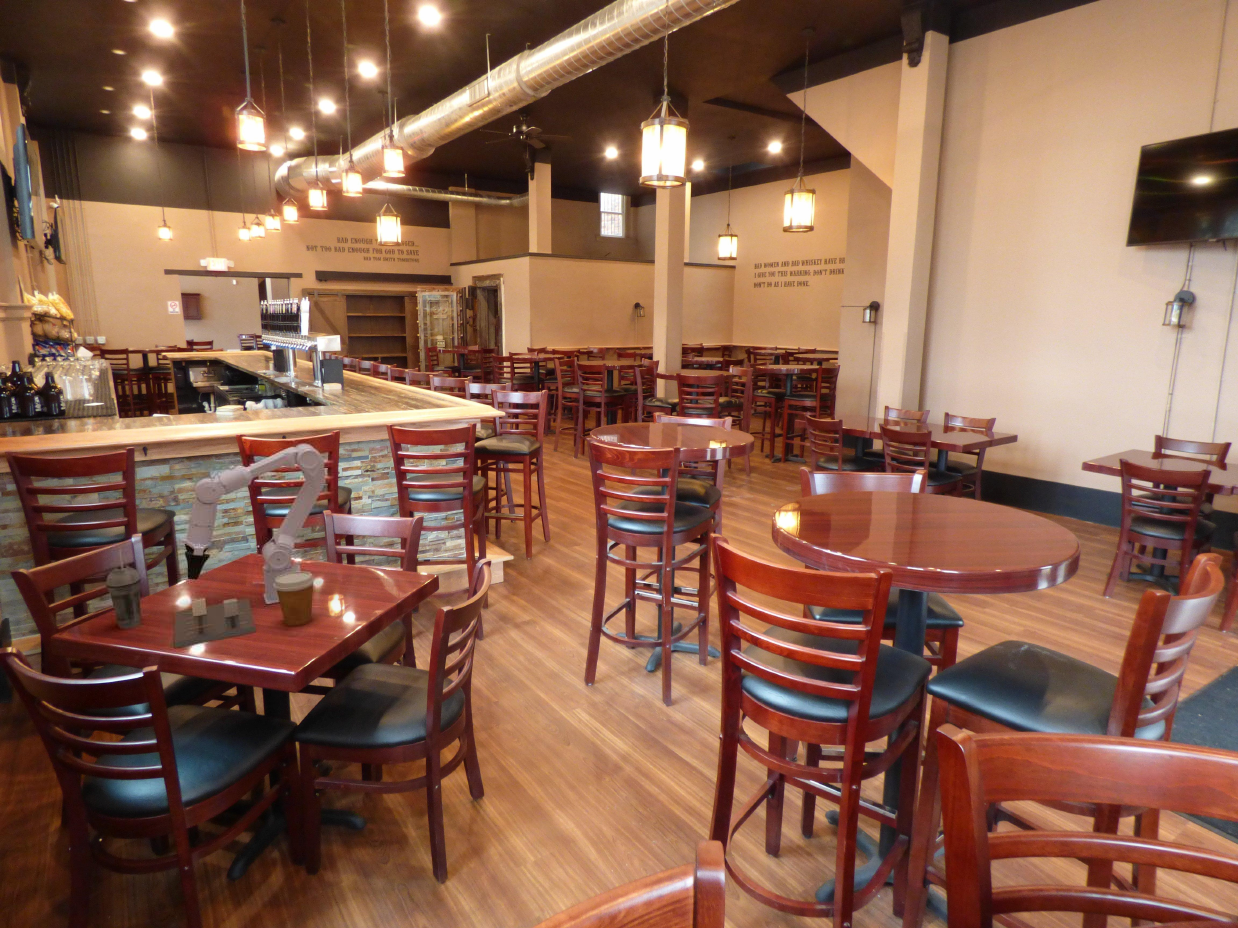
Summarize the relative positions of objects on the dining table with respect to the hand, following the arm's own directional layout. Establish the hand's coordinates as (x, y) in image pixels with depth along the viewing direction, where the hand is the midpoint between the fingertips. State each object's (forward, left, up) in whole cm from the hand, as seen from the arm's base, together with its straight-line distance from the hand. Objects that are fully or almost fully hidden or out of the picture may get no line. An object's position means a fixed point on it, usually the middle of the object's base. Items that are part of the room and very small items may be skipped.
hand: (192, 574), depth 184 cm
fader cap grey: (-8, +11, -9) cm, 16 cm away
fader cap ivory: (-1, +6, -9) cm, 11 cm away
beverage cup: (+15, 0, -11) cm, 19 cm away
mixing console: (-4, +11, -11) cm, 16 cm away
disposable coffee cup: (-22, +20, -11) cm, 32 cm away
